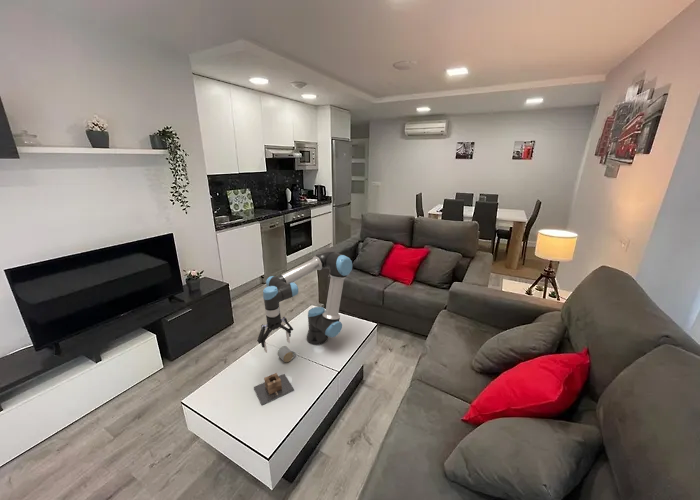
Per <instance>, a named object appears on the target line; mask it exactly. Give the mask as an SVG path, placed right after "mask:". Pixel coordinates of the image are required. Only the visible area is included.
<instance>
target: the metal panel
mask: <svg viewBox="0 0 700 500" xmlns="http://www.w3.org/2000/svg"><path fill="white" fill-rule="evenodd" d="M278 376H279V378H280V379H281V385H282V389H281V390H279V391H277V392H275V393H272V394H270V395H269V393H268V391H267V389H266V387H265V381H264V382H262V383H260V384H259V383H258V384H257V385H255V386H253V390H254V391H255V394H256V396H257V398H258V400H259V402H260V405H261V406H264V405H266V404H269V403H271V402H273V401H275V400H277V399H279V398H281V397H283V396H286V395H288V394H290V393H293V392H295V388H294V387H293V385H292V383H291V381H290V380H289V379H288V377H287V376H286V374H285V373H284V374H281V375H278Z"/></svg>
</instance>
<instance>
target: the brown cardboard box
mask: <svg viewBox="0 0 700 500" xmlns="http://www.w3.org/2000/svg"><path fill="white" fill-rule="evenodd" d="M279 376H280V375H279V374H278V372H275V373H273V374H270V375H267V376H265V377H264V378H263V380H264V382H265V387H266V389H267V391H268V393H269V395H270V394H272V393H275V392H277V391H279V390H281V389H282V385H281V379H280V378H279Z"/></svg>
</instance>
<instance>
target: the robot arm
mask: <svg viewBox="0 0 700 500" xmlns="http://www.w3.org/2000/svg"><path fill="white" fill-rule="evenodd" d="M323 269H327V270H329V272H328V275H329V276H330V280H329V287H328V292H327V299H326V304H325V308H324V307H323V306H316V307H315V306H314V307H312V308H310V309H309V310H308V312H307V320H308V321H307V323H308V330H307V334H306V341H307V343H309V344H310V345H314V346H315V345H316V346H317V345H324V343H326V342H327V341H328V340H329V338H335V337H336V336H338V335H339V334H340V333H341V331H342V329H343V323H342V322H341V321H340V319H341V315H340V314H339V313H340V306H341V299H342V292H343V287H344V281H345V279H346V278H347V277H348V276H349V275H350V274H351V272H352V270H353V261H352V260H351V258H350V257H348V256H346V255H345V254H341V253H338V252H335V251H331V250H329V251H324V252H320V253H319V254H317V255H315V256H312V259H309V260H307V261H306V262H304V263H302V264H300V265H298V266H296V267H294V268H291V269H289V270H287V271H285V272H284V273H281V274H280V275H278V276H275V275H272V276H271V275H270V276H269V277H268V278H266V280H265V286H266V287H264V288H263V290H262V295H263V296H262V298H263V302H264V309H265V315H266V316H265V318H266V319H265V320H266V324H261V325H260V326H261V327H260V328H261V329H260V330H259V334H258V337H257V341H256V342H258V344H260V345H261V347H262V348H263V351H264V352H265V353H268V349H267V342H266V340H267V338H268V337H269V335H270V334H271V333H272V331H275V330H278V329H279V328H280V329H282V330H284V331H285V336H286V337H285V338H286V342H287V343H288V344H290V343H291V338H290V337H291V335H292V331H293V330H294V327H292V326H291V324H290V323H289V321H288V318H287V317H286V316H283V317H281V308H280V302H283V301H285V300H289V299H291V298H294V297H295V296H297V295H299V286H298V285H297V284H296V283H295V282H297V281H298V280H301V279H302V278H304V277H306V276H308V275H310V274H312V273H315V271H317V270H318V271H321V270H323ZM282 322H283V323H285V324H286V325H287V326H285V325H283V324H282Z"/></svg>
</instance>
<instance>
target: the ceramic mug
mask: <svg viewBox="0 0 700 500" xmlns="http://www.w3.org/2000/svg"><path fill="white" fill-rule="evenodd" d="M276 355H277V357H279V359H281V360H282V362H284V363H289V362H291V360H292V359H293V358H295V357H296V355H297V353H296V352H295V351H294V350H291V349H290V348H289V347H288V346H286V345H283V346H281V347H279V348H278V350H277V352H276Z"/></svg>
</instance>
